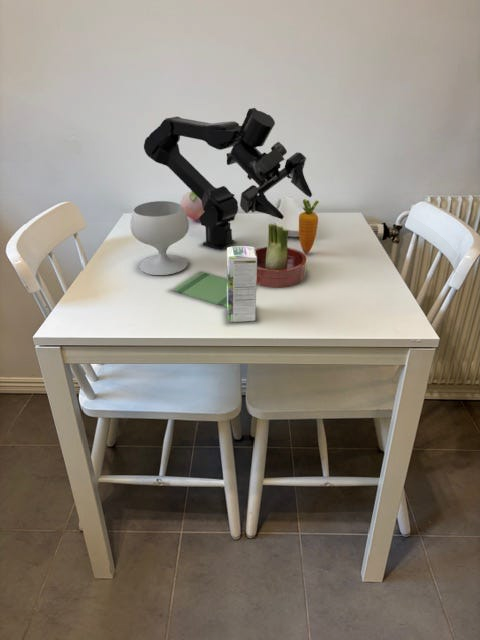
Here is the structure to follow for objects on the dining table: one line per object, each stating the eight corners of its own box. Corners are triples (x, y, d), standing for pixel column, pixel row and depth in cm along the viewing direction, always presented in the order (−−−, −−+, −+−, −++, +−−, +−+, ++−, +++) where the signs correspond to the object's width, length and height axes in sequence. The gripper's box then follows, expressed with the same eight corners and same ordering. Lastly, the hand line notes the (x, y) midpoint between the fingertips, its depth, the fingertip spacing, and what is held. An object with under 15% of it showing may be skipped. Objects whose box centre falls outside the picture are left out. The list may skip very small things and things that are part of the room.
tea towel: (173, 290, 111) (173, 289, 111) (200, 272, 119) (200, 271, 119) (227, 307, 104) (227, 306, 104) (253, 287, 112) (253, 286, 112)
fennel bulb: (289, 275, 116) (291, 228, 110) (269, 278, 115) (271, 231, 109) (280, 266, 121) (282, 220, 115) (262, 268, 120) (262, 222, 114)
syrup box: (226, 308, 104) (225, 246, 96) (253, 307, 104) (254, 245, 97) (228, 322, 99) (226, 258, 91) (256, 321, 99) (257, 256, 92)
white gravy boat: (319, 240, 136) (322, 215, 133) (279, 243, 135) (280, 218, 131) (297, 212, 156) (298, 190, 153) (261, 215, 155) (262, 193, 151)
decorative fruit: (181, 216, 155) (179, 185, 149) (207, 214, 155) (205, 183, 150) (181, 226, 147) (179, 194, 141) (208, 225, 147) (207, 192, 142)
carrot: (317, 251, 129) (321, 196, 122) (313, 259, 125) (317, 202, 118) (298, 249, 131) (302, 195, 123) (294, 256, 127) (297, 200, 119)
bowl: (234, 278, 116) (233, 262, 114) (263, 256, 127) (264, 241, 125) (288, 293, 110) (289, 276, 107) (314, 269, 120) (316, 253, 118)
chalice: (151, 252, 130) (145, 197, 122) (199, 258, 126) (196, 202, 119) (125, 273, 119) (117, 215, 111) (177, 281, 115) (172, 221, 107)
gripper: (224, 162, 105) (272, 211, 103) (286, 118, 110) (334, 164, 107) (223, 190, 116) (266, 235, 113) (279, 149, 121) (322, 192, 118)
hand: (297, 206), depth 113 cm, fingers open, 9 cm apart
